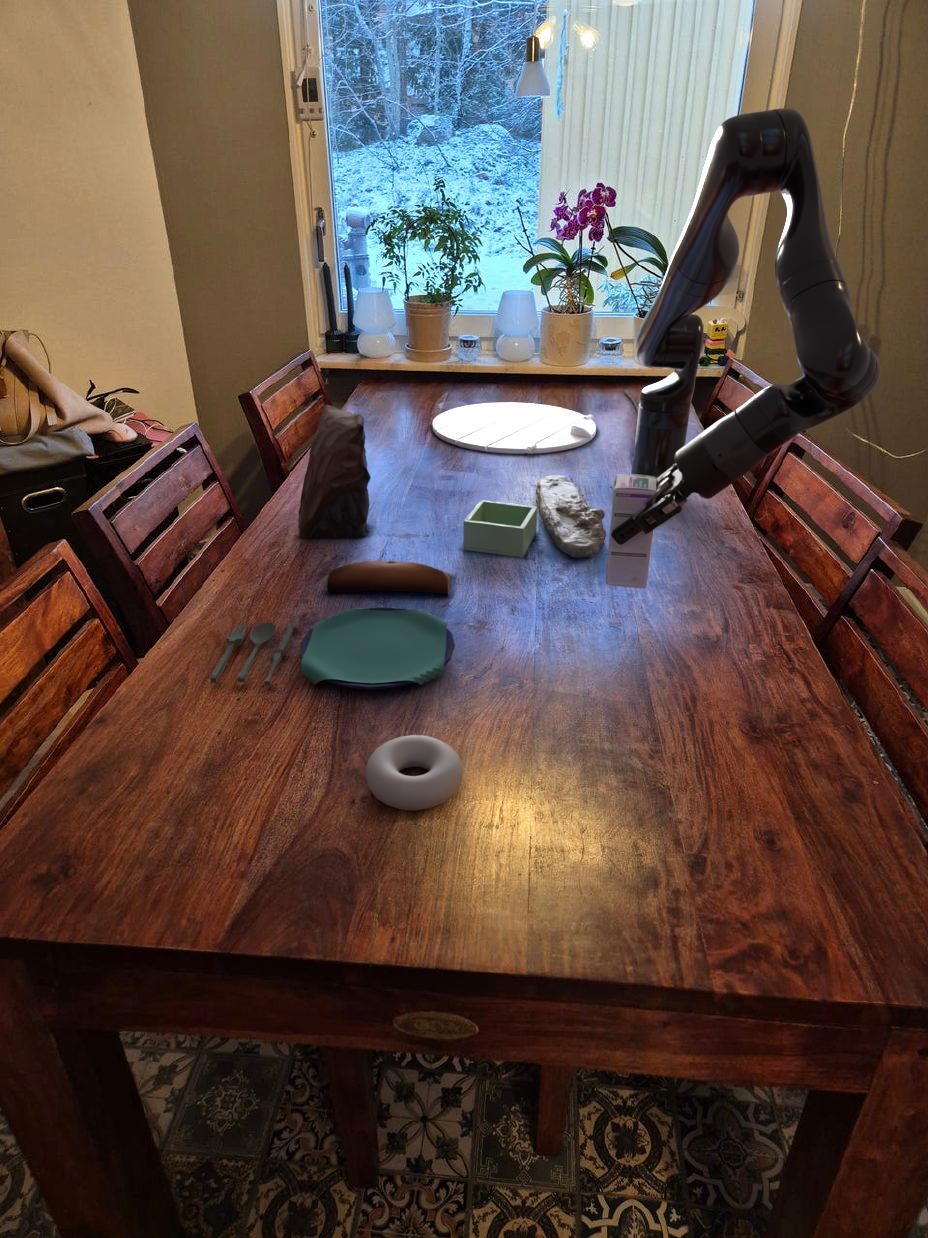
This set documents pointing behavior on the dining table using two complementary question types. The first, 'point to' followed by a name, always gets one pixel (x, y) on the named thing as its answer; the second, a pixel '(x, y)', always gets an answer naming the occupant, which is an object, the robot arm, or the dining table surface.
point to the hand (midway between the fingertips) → (618, 529)
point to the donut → (413, 788)
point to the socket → (500, 528)
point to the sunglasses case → (388, 577)
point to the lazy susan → (514, 428)
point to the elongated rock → (570, 517)
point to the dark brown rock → (336, 479)
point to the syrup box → (634, 555)
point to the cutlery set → (359, 648)
